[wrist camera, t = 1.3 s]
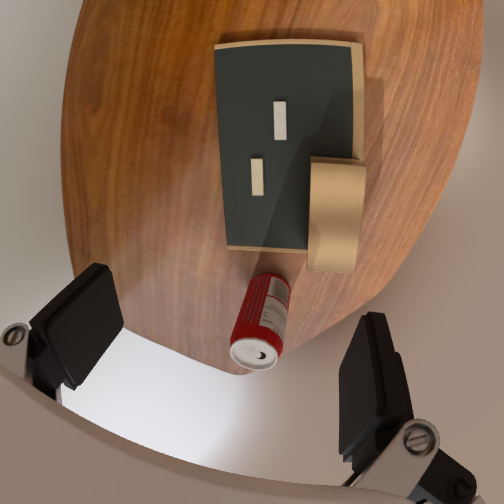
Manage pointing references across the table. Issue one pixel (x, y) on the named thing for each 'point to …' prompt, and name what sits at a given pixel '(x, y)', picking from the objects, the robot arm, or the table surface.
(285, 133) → the white chalk stick
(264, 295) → the soda can
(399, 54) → the table surface
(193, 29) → the table surface
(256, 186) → the chalk mark
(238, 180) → the chalkboard
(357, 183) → the eraser
